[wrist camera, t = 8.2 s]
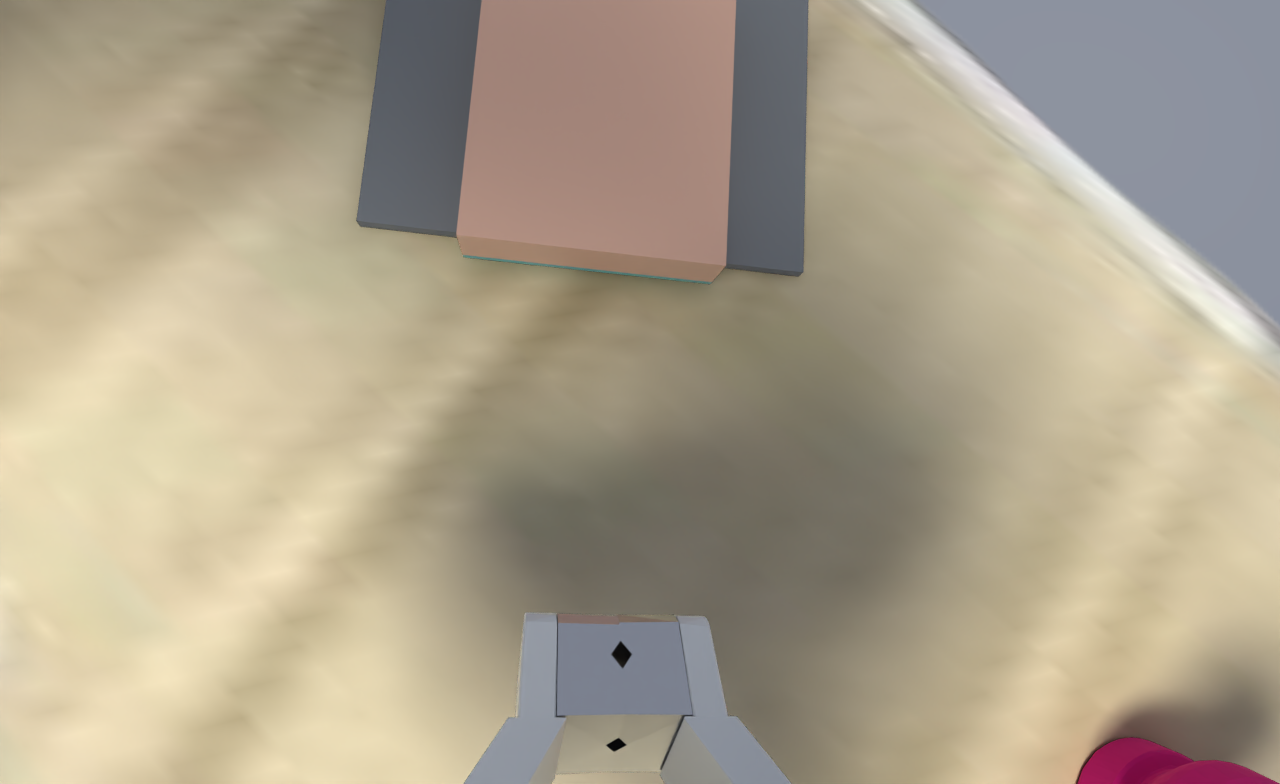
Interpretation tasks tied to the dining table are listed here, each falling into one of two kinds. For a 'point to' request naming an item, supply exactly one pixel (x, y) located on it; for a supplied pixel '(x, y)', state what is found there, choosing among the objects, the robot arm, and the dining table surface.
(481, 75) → the tile
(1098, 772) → the pepper mill
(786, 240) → the mat
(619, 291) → the dining table surface
